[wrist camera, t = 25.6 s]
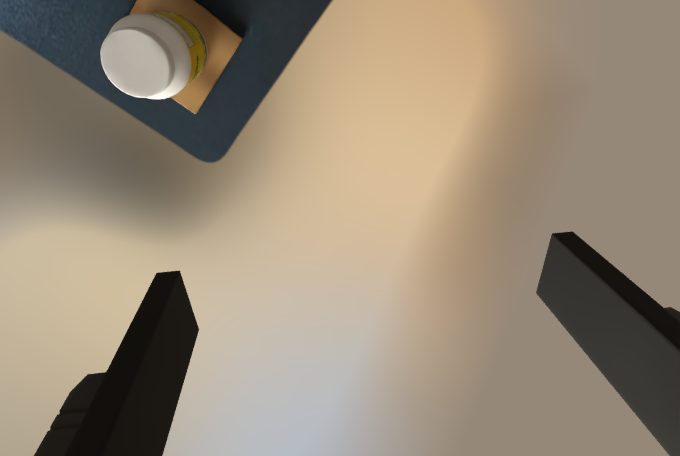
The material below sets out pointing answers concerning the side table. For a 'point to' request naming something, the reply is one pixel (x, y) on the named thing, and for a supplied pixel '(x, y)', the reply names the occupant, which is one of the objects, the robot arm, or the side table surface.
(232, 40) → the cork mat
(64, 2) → the side table surface
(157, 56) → the pill bottle
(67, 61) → the side table surface
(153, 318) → the robot arm
